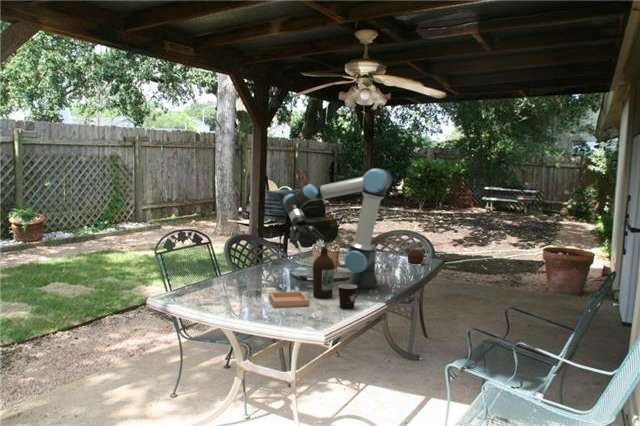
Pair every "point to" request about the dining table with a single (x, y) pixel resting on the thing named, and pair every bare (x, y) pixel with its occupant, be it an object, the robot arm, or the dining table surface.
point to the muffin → (415, 257)
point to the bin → (288, 299)
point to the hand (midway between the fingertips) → (312, 252)
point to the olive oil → (323, 275)
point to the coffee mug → (347, 295)
